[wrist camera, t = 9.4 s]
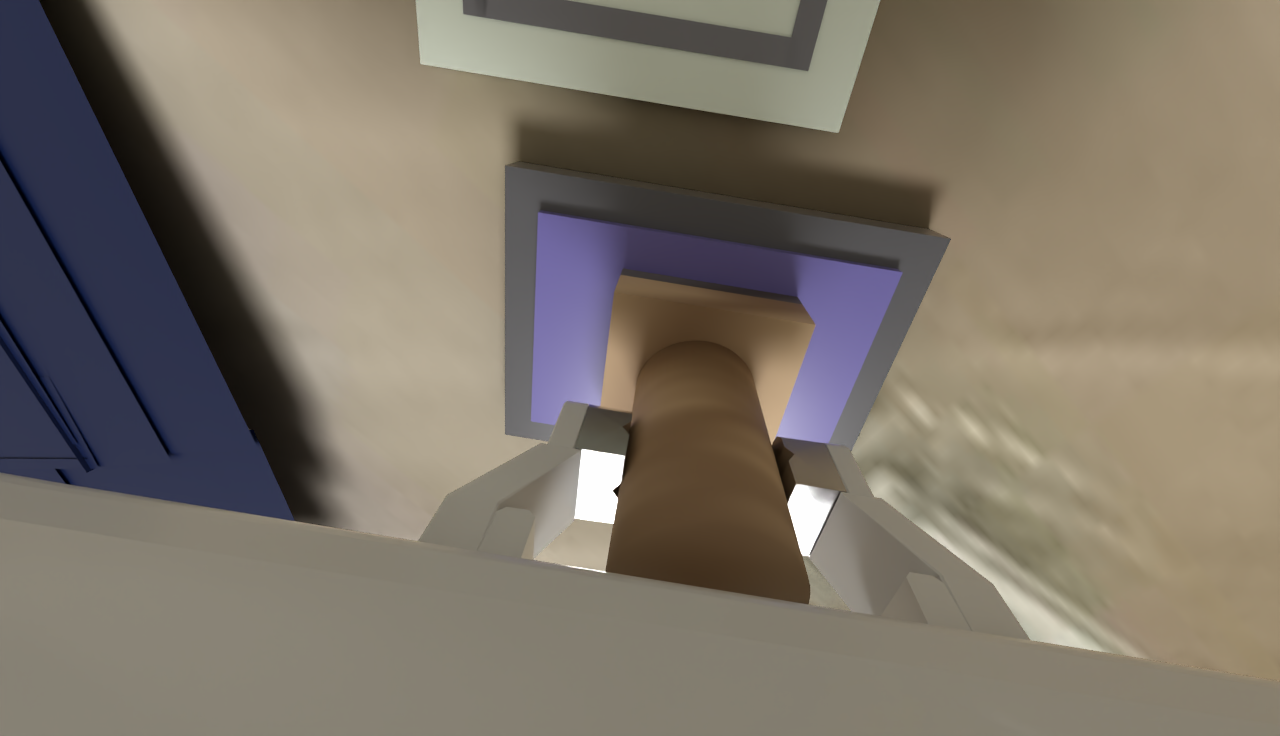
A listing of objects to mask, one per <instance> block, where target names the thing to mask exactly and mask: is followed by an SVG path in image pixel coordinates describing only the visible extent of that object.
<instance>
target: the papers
mask: <svg viewBox="0 0 1280 736" xmlns="http://www.w3.org/2000/svg"><path fill="white" fill-rule="evenodd" d="M0 473H6V474H12V475H18V476H23V477H29V478H35V479H40V480H46V481H51V482H57V483H63V484H69V485H75V486H82V487H88V488H94V489H100V490H106V491H112V492H118V493H125V494H131V495H137V496H143V497H149V498H155V499H161V500H168V501H174V502H180V503H186V504H192V505H198V506H204V507H210V508H217V509H223V510H229V511H235V512H241V513H247V514H253V515H260V516H266V517H272V518H278V519H284V520H290V521H295V520H294V518H293V516H292V513H291V511H290V509H289V507H288V505H287V502H286V500H285V498H284V496H283V494H282V492H281V489H280V487H279V485H278V483H277V481H276V478H275V476H274V474H273V472H272V470H271V467H270V465H269V463H268V461H267V459H266V456H265V454H264V452H263V450H262V448H261V445H260V443H259V441H258V439H257V437H256V434H255V432H254V430H249V429H248V427H247V425H246V423H245V421H244V419H243V417H242V415H241V413H240V410H239V408H238V406H237V404H236V402H235V400H234V398H233V396H232V394H231V392H230V390H229V388H228V386H227V384H226V382H225V380H224V378H223V376H222V374H221V372H220V370H219V368H218V366H217V363H216V361H215V359H214V357H213V355H212V353H211V351H210V349H209V347H208V345H207V343H206V341H205V339H204V337H203V335H202V333H201V331H200V329H199V327H198V325H197V323H196V321H195V319H194V317H193V314H192V312H191V310H190V308H189V306H188V304H187V302H186V300H185V298H184V296H183V294H182V292H181V290H180V288H179V286H178V284H177V282H176V280H175V278H174V276H173V274H172V272H171V270H170V267H169V265H168V263H167V261H166V259H165V257H164V255H163V253H162V251H161V249H160V247H159V245H158V243H157V241H156V239H155V237H154V235H153V233H152V231H151V229H150V227H149V225H148V223H147V220H146V218H145V216H144V214H143V212H142V210H141V208H140V206H139V204H138V202H137V200H136V198H135V196H134V194H133V192H132V190H131V188H130V186H129V184H128V182H127V180H126V178H125V176H124V173H123V171H122V169H121V167H120V165H119V163H118V161H117V159H116V157H115V155H114V153H113V151H112V149H111V147H110V145H109V143H108V141H107V139H106V137H105V135H104V133H103V131H102V129H101V127H100V124H99V122H98V120H97V118H96V116H95V114H94V112H93V110H92V108H91V106H90V104H89V102H88V100H87V98H86V96H85V94H84V92H83V90H82V88H81V86H80V84H79V82H78V80H77V77H76V75H75V73H74V71H73V69H72V67H71V65H70V63H69V61H68V59H67V57H66V55H65V53H64V51H63V49H62V47H61V45H60V43H59V41H58V39H57V37H56V35H55V33H54V30H53V28H52V26H51V24H50V22H49V20H48V18H47V16H46V14H45V12H44V10H43V8H42V6H41V4H40V2H39V0H0Z"/></svg>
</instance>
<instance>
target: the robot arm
mask: <svg viewBox="0 0 1280 736" xmlns="http://www.w3.org/2000/svg"><path fill="white" fill-rule="evenodd" d="M632 414H633V412H629V411H624V410H618V409H613V408H607V407H602V406H596V405H591V404H589V405H588V404H586V403H579V402H573V401H566V402H565V403H564V405H563V407H562V409H561V412H560V414H559V417H558V419H557V422H556V424H555V427H554V429H553V431H552V434H551V436H550V439H549V441H548V444H543V443H540V444H538V445H537V446H535V447H533V448H531V449H529V450H528V451H526V452H524V453H522V454H520V455H518V456H517V457H515V458H513V459H511V460H509V461H508V462H506V463H504V464H502V465H500V466H499V467H497V468H495V469H493V470H491V471H489V472H488V473H486V474H484V475H482V476H480V477H479V478H477V479H475V480H473V481H471V482H470V483H468V484H466V485H464V486H462V487H460V488H459V489H457V490H455V491H453V492H451V493H450V494H448V495H447V496H446V497H445V499H444V501H443V502H442V504H441V505H440V507H439V509H438V510H437V512H436V513H435V515H434V517H433V518H432V520H431V521H430V523H429V525H428V526H427V528H426V529H425V531H424V533H423V534H422V536H421V537H420V539H419V541H413V540H407V539H401V538H395V537H389V536H382V535H376V534H370V533H364V532H358V531H352V530H345V529H339V528H333V527H327V526H321V525H315V524H309V523H303V522H296V521H290V520H284V519H278V518H272V517H266V516H260V515H253V514H247V513H241V512H235V511H229V510H223V509H217V508H210V507H204V506H198V505H192V504H186V503H180V502H174V501H168V500H161V499H155V498H149V497H143V496H137V495H131V494H125V493H118V492H112V491H106V490H100V489H94V488H88V487H82V486H75V485H69V484H63V483H57V482H51V481H46V480H40V479H35V478H29V477H23V476H18V475H12V474H6V473H0V736H1280V681H1278V680H1272V679H1265V678H1259V677H1253V676H1247V675H1241V674H1235V673H1228V672H1222V671H1216V670H1210V669H1204V668H1198V667H1191V666H1185V665H1179V664H1173V663H1167V662H1161V661H1154V660H1148V659H1142V658H1136V657H1130V656H1124V655H1117V654H1111V653H1105V652H1099V651H1093V650H1087V649H1080V648H1074V647H1068V646H1062V645H1056V644H1050V643H1043V642H1037V641H1031V640H1030V639H1029V637H1028V636H1027V634H1026V633H1025V631H1024V630H1023V628H1022V627H1021V625H1020V624H1019V622H1018V621H1017V619H1016V618H1015V616H1014V615H1013V613H1012V612H1011V610H1010V609H1009V607H1008V606H1007V604H1006V603H1005V601H1004V600H1003V598H1002V597H1001V595H1000V594H999V592H998V591H997V589H996V588H995V586H994V585H993V584H992V583H991V582H989V581H988V580H987V579H986V578H984V577H983V576H982V575H980V574H979V573H978V572H976V571H975V570H974V569H973V568H971V567H970V566H969V565H967V564H966V563H965V562H963V561H962V560H961V559H960V558H958V557H957V556H956V555H954V554H953V553H952V552H950V551H949V550H948V549H947V548H945V547H944V546H943V545H941V544H940V543H939V542H937V541H936V540H935V539H934V538H932V537H931V536H930V535H928V534H927V533H926V532H924V531H923V530H922V529H920V528H919V527H918V526H917V525H915V524H914V523H913V522H911V521H910V520H909V519H907V518H906V517H905V516H904V515H902V514H901V513H900V512H898V511H897V510H896V509H894V508H893V507H892V506H891V505H889V504H888V503H887V502H885V501H884V500H883V499H881V498H875V497H874V496H873V494H872V492H871V490H870V488H869V486H868V484H867V482H866V480H865V478H864V476H863V474H862V473H861V471H860V469H859V467H858V465H857V463H856V461H855V459H854V457H853V455H852V453H851V451H850V449H849V448H848V447H846V446H845V445H838V444H830V443H823V442H822V443H819V442H813V441H806V440H799V439H792V438H785V437H779V436H777V437H776V438H775V440H774V441H773V443H772V448H773V452H774V456H775V459H776V463H777V467H778V470H779V474H780V477H781V481H782V485H783V488H784V492H785V496H786V499H787V503H788V507H789V510H790V514H791V517H792V521H793V525H794V528H795V532H796V536H797V539H798V543H799V546H800V550H801V554H802V555H806V556H810V557H809V558H810V560H811V561H812V562H813V563H814V565H815V566H816V567H817V568H818V570H819V571H820V572H821V573H822V575H823V576H824V577H825V578H826V580H827V581H828V582H829V583H830V585H831V586H832V587H833V588H834V590H835V591H836V592H837V593H838V595H839V596H840V597H841V598H842V600H843V601H844V602H845V603H846V605H847V606H848V607H849V608H850V610H851V611H846V610H840V609H833V608H827V607H821V606H815V605H809V604H803V603H797V602H791V601H784V600H778V599H772V598H766V597H759V596H753V595H747V594H741V593H735V592H728V591H722V590H716V589H710V588H704V587H697V586H691V585H685V584H679V583H672V582H666V581H660V580H654V579H648V578H641V577H635V576H629V575H623V574H617V573H610V572H604V571H598V570H592V569H586V568H580V567H573V566H567V565H561V564H555V563H549V562H543V561H537V560H533V559H534V558H535V557H536V556H537V555H538V554H539V553H540V552H541V551H542V550H543V549H545V548H546V547H547V546H548V545H549V544H550V543H551V542H552V541H553V540H554V539H555V538H556V537H557V536H558V535H559V534H560V533H562V532H563V531H564V530H565V529H566V528H567V527H568V526H569V525H570V524H571V523H572V522H573V521H574V519H575V518H578V519H585V520H592V521H600V522H607V523H614V517H615V511H616V505H617V498H618V492H619V486H620V483H621V482H622V476H623V471H624V465H625V459H626V452H627V446H628V440H629V434H630V427H631V421H632Z"/></svg>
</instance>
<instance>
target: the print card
mask: <svg viewBox="0 0 1280 736" xmlns="http://www.w3.org/2000/svg"><path fill="white" fill-rule="evenodd" d="M879 3H880V0H416V12H417V25H418V39H419V52H420V64H423V65H429V66H435V67H441V68H447V69H453V70H459V71H465V72H471V73H477V74H483V75H489V76H495V77H501V78H507V79H513V80H519V81H525V82H532V83H538V84H544V85H550V86H556V87H562V88H568V89H574V90H580V91H586V92H592V93H598V94H604V95H610V96H616V97H622V98H629V99H635V100H641V101H647V102H653V103H659V104H665V105H671V106H677V107H683V108H689V109H695V110H701V111H707V112H713V113H719V114H725V115H732V116H738V117H744V118H750V119H756V120H762V121H768V122H774V123H780V124H786V125H792V126H798V127H804V128H810V129H816V130H822V131H828V132H835V133H839V130H840V127H841V124H842V120H843V117H844V114H845V111H846V108H847V105H848V101H849V98H850V95H851V92H852V89H853V86H854V83H855V79H856V76H857V73H858V70H859V67H860V64H861V60H862V57H863V54H864V51H865V48H866V45H867V41H868V38H869V35H870V32H871V29H872V26H873V22H874V19H875V16H876V13H877V10H878V7H879Z"/></svg>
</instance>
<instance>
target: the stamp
mask: <svg viewBox="0 0 1280 736" xmlns="http://www.w3.org/2000/svg"><path fill="white" fill-rule="evenodd" d="M815 326H816V325H815V323H814V321H813V320H812V318H811V317H810V315H809V314H808V312H807V311H806V309H805V307H804V306H803V304H802V303H801V301H800V300H799V298H798V297H795V296H789V295H783V294H777V293H771V292H765V291H759V290H752V289H746V288H740V287H734V286H728V285H722V284H716V283H710V282H703V281H697V280H691V279H685V278H679V277H673V276H667V275H661V274H654V273H648V272H642V271H636V270H630V269H624V268H623V270H622V272H621V275H620V278H619V280H618V283H617V286H616V288H615V291H614V296H613V305H612V313H611V321H610V330H609V338H608V346H607V354H606V363H605V371H604V379H603V387H602V396H601V404H600V406H602V407H607V408H613V409H618V410H624V411H629V412H633V414H632V421H631V427H630V434H629V440H628V446H627V452H626V459H625V465H624V471H623V476H622V482H621V483H620V486H619V492H618V498H617V505H616V511H615V517H614V523H613V529H612V535H611V541H610V547H609V553H608V559H607V565H606V571H605V572H610V573H617V574H623V575H629V576H635V577H641V578H648V579H654V580H660V581H666V582H672V583H679V584H685V585H691V586H697V587H704V588H710V589H716V590H722V591H728V592H735V593H741V594H747V595H753V596H759V597H766V598H772V599H778V600H784V601H791V602H797V603H803V604H809V599H810V584H809V579H808V575H807V572H806V568H805V565H804V561H803V557H802V554H801V550H800V546H799V543H798V539H797V536H796V532H795V528H794V525H793V521H792V517H791V514H790V510H789V507H788V503H787V499H786V496H785V492H784V488H783V485H782V481H781V477H780V474H779V470H778V467H777V463H776V459H775V456H774V452H773V448H772V443H773V441H774V440H775V437H776V434H777V432H778V429H779V426H780V423H781V420H782V418H783V415H784V412H785V409H786V407H787V404H788V401H789V398H790V395H791V393H792V390H793V387H794V384H795V381H796V379H797V376H798V373H799V370H800V368H801V365H802V362H803V359H804V356H805V354H806V351H807V348H808V345H809V342H810V340H811V337H812V334H813V331H814V329H815Z"/></svg>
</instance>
